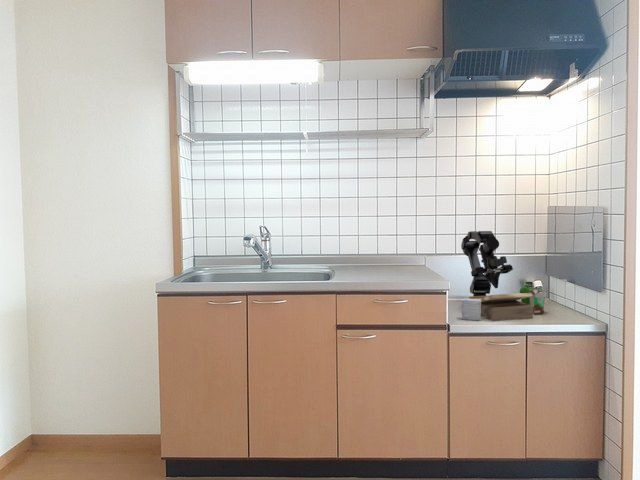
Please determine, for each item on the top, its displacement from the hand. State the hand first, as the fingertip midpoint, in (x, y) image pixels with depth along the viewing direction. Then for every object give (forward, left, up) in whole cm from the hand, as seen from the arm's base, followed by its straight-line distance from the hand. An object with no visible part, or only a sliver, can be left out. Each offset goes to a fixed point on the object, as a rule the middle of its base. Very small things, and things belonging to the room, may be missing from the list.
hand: (496, 288), depth 238 cm
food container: (+4, +20, -12) cm, 23 cm away
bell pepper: (-15, +28, -12) cm, 33 cm away
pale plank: (+7, 0, -4) cm, 8 cm away
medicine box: (+8, -17, -12) cm, 23 cm away
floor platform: (+4, 0, -11) cm, 12 cm away
